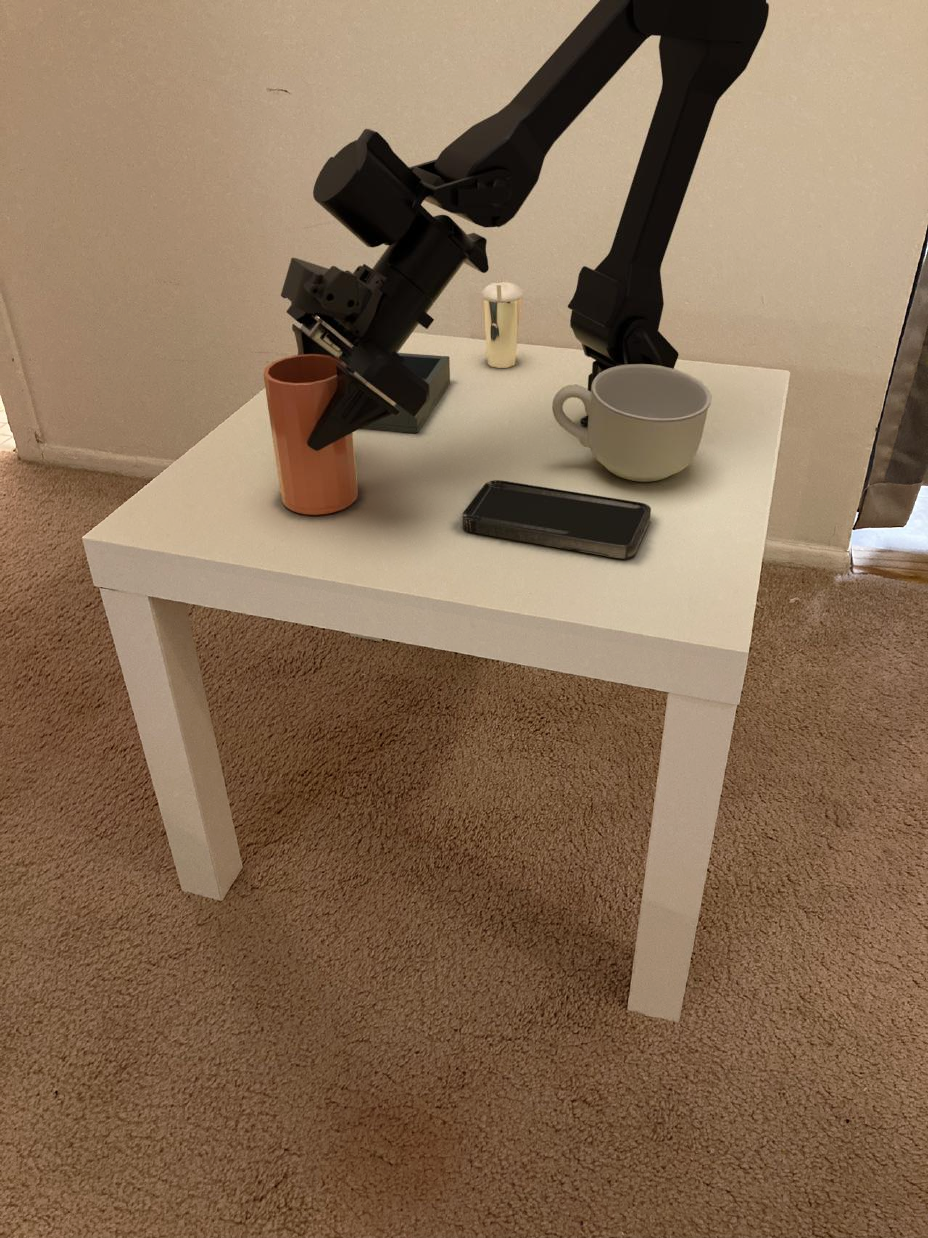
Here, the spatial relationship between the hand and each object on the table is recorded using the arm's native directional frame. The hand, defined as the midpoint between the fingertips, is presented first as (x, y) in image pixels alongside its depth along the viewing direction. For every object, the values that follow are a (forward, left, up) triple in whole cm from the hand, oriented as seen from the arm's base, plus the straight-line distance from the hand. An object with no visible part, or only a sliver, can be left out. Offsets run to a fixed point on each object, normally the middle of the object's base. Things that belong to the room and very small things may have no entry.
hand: (296, 431), depth 85 cm
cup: (-1, -1, -7) cm, 7 cm away
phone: (-20, -11, -7) cm, 24 cm away
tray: (+11, -20, -7) cm, 24 cm away
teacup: (-18, -24, -7) cm, 31 cm away
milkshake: (+7, -37, -7) cm, 38 cm away
